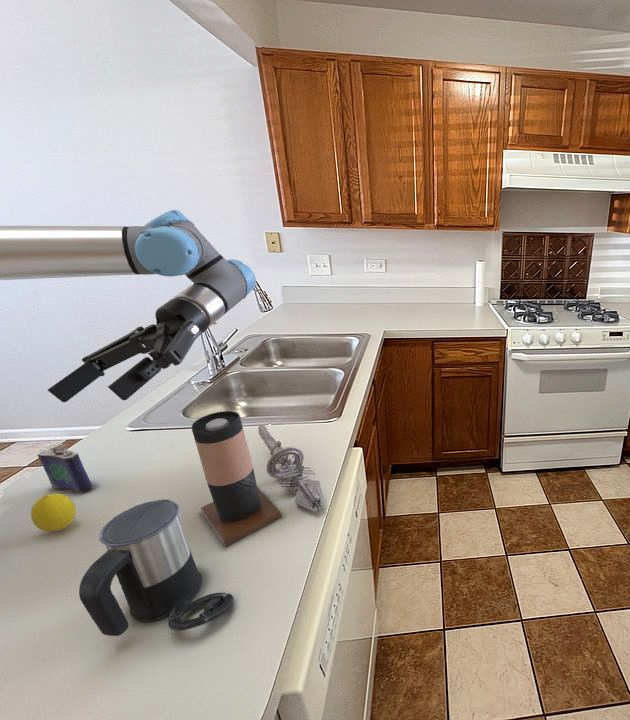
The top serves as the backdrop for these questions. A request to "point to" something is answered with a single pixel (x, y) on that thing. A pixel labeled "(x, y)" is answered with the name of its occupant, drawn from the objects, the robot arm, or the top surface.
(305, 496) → the spaceship
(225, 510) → the travel mug
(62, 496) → the lemon
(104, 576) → the milk frother
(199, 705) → the top surface
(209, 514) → the serving board
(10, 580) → the top surface
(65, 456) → the flask
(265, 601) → the top surface
